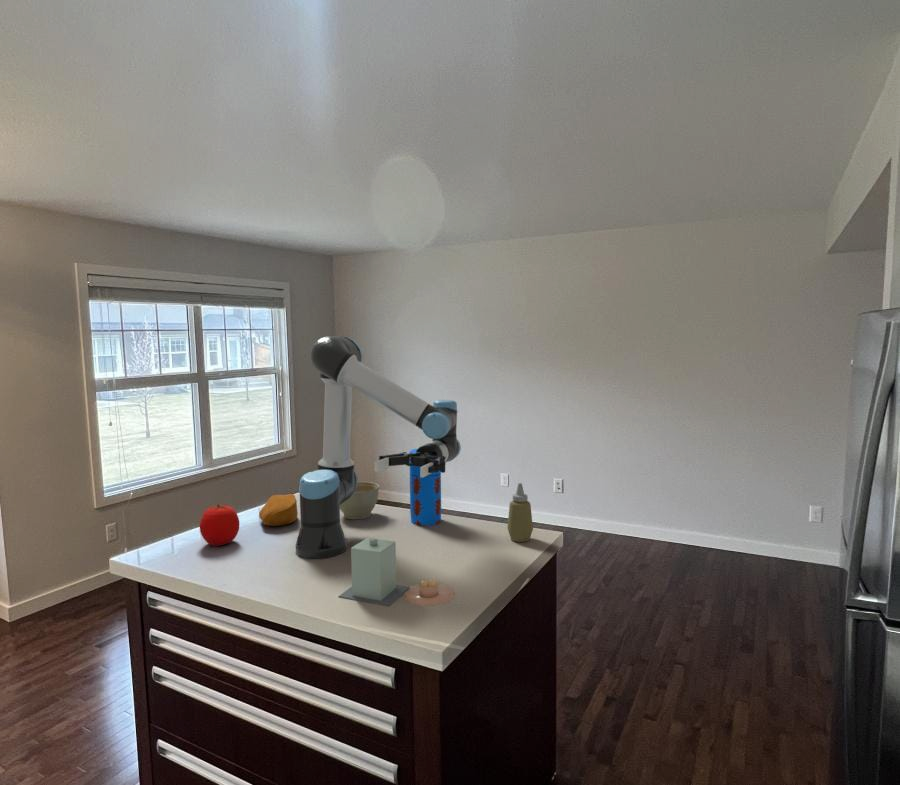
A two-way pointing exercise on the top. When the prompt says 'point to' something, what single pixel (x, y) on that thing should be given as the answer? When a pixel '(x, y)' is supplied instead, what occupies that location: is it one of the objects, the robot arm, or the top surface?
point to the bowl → (429, 593)
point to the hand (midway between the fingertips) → (398, 469)
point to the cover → (373, 568)
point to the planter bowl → (361, 501)
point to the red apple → (219, 525)
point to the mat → (386, 601)
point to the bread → (279, 510)
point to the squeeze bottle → (520, 517)
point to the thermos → (425, 497)
